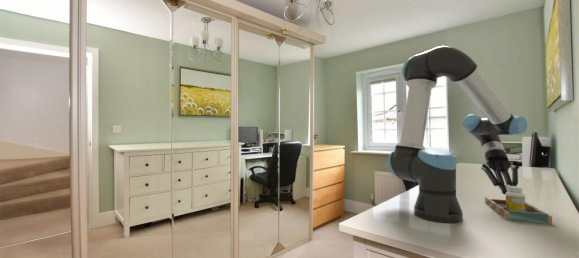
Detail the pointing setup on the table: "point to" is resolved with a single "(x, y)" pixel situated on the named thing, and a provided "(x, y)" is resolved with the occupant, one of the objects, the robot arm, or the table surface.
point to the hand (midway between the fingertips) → (511, 201)
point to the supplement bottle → (515, 199)
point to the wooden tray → (519, 212)
